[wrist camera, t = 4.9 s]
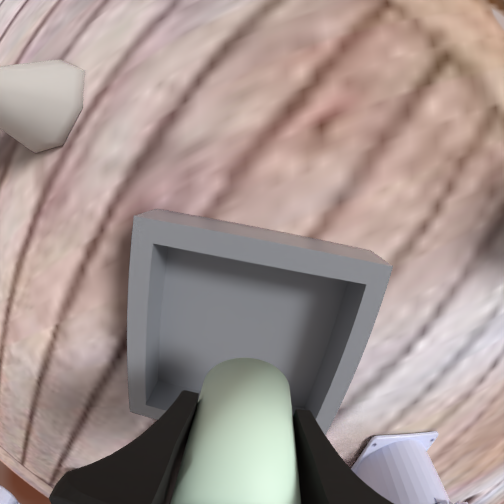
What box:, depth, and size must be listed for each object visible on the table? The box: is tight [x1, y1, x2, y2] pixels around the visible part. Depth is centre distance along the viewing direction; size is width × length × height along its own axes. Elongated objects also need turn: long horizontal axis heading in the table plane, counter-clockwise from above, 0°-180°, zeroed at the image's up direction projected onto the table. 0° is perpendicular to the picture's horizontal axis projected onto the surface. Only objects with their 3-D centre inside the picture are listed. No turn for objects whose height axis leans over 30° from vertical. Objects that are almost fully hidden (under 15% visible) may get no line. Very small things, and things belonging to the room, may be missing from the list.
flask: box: [0, 60, 85, 153], centre depth 11 cm, size 7×7×10 cm
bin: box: [127, 209, 393, 435], centre depth 18 cm, size 13×13×4 cm
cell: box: [170, 358, 301, 504], centre depth 9 cm, size 4×4×8 cm
